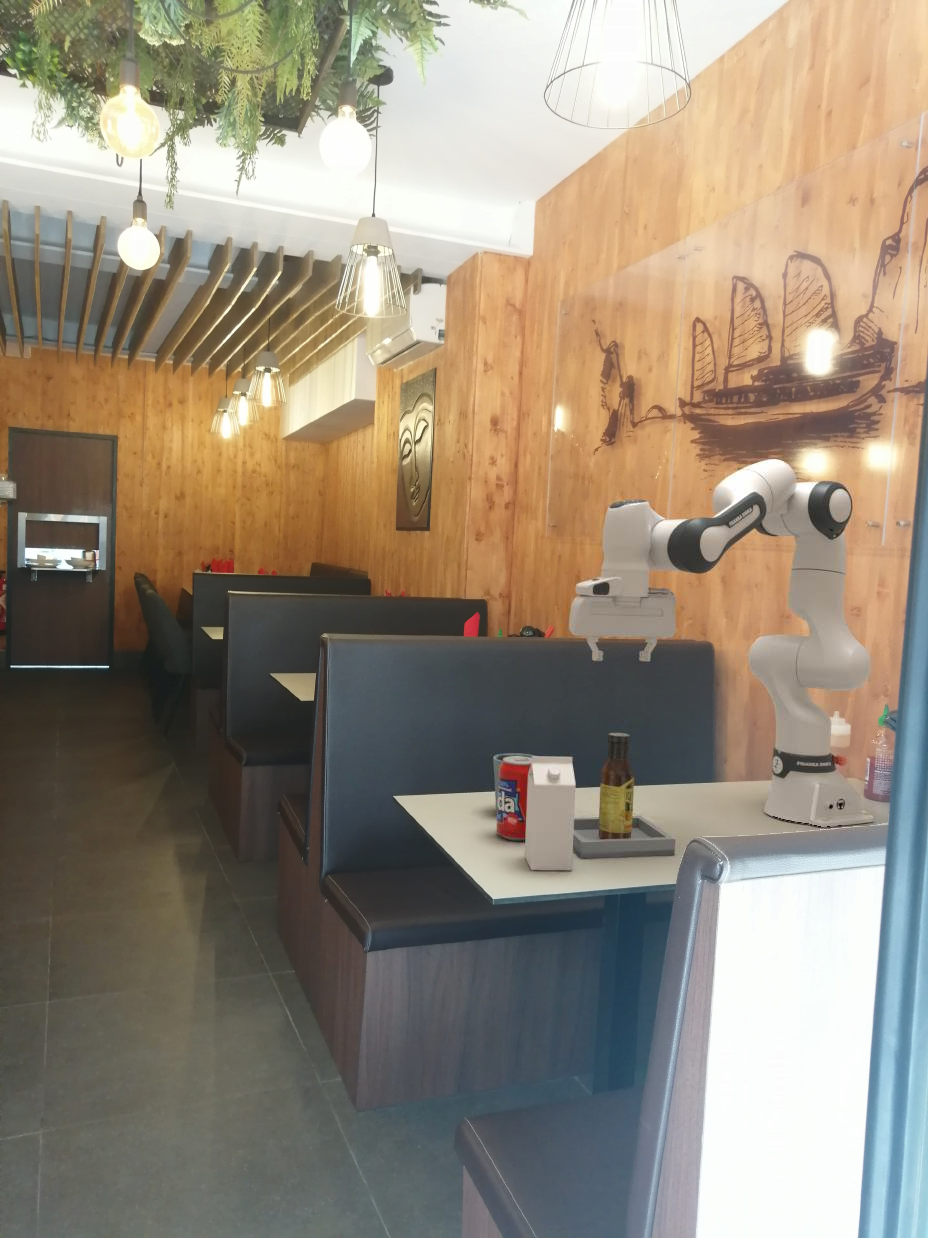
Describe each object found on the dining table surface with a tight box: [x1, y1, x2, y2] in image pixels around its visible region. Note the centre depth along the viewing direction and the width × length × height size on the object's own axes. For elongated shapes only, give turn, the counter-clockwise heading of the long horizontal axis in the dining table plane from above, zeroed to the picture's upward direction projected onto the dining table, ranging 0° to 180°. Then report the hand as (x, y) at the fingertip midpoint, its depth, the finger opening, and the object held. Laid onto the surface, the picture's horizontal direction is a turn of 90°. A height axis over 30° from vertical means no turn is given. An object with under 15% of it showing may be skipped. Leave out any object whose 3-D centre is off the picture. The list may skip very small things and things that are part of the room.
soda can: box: [496, 756, 532, 842], centre depth 170 cm, size 8×8×15 cm
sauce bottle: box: [598, 732, 635, 839], centre depth 167 cm, size 6×6×20 cm
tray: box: [573, 815, 676, 860], centre depth 168 cm, size 18×15×3 cm
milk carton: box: [524, 755, 577, 871], centre depth 154 cm, size 7×7×19 cm
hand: (621, 660), depth 166 cm, fingers open, 8 cm apart
